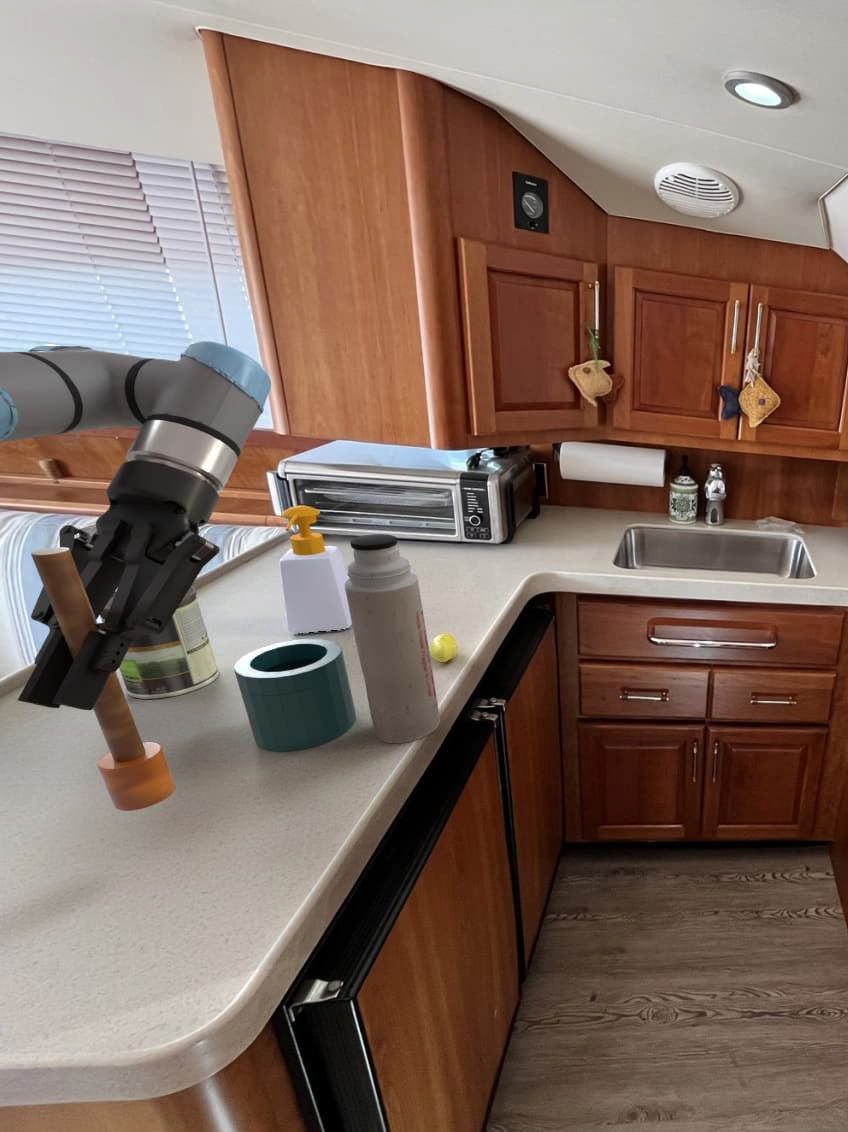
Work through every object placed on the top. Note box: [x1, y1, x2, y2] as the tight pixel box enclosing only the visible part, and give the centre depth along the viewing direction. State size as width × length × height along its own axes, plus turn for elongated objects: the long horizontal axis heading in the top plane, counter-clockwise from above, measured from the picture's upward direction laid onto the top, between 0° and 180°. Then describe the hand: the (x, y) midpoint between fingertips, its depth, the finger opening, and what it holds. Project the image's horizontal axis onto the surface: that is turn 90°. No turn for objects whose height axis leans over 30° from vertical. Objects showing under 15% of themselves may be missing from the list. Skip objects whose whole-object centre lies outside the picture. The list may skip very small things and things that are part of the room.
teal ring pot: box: [233, 638, 357, 752], centre depth 86 cm, size 11×11×11 cm
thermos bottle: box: [345, 533, 441, 744], centre depth 84 cm, size 8×8×28 cm
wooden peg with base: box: [30, 546, 176, 812], centre depth 59 cm, size 4×4×26 cm
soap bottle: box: [278, 505, 352, 635], centre depth 111 cm, size 10×14×22 cm
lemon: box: [429, 633, 459, 663], centre depth 108 cm, size 4×8×4 cm, turn 22°
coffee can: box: [99, 585, 220, 700], centre depth 93 cm, size 10×10×14 cm
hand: (55, 705), depth 55 cm, fingers closed on wooden peg with base, 2 cm apart
